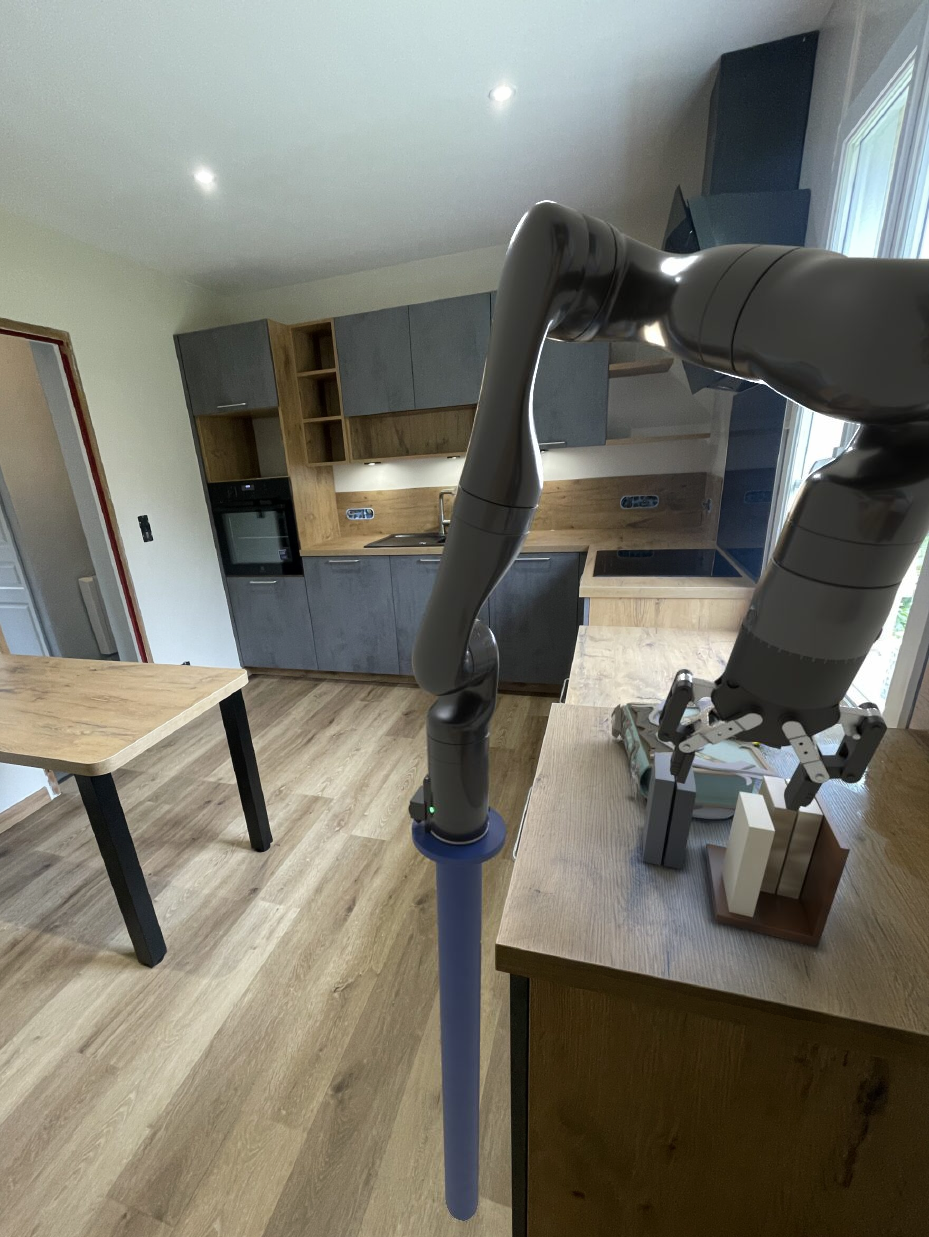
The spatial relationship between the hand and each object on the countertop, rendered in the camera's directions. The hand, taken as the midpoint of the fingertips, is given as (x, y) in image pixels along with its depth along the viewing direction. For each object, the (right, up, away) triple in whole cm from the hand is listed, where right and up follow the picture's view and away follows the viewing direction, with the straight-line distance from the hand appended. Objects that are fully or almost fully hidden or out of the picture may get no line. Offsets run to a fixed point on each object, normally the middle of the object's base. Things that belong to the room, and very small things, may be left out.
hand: (732, 789), depth 46 cm
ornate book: (+18, -7, +45) cm, 49 cm away
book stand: (+14, -17, +20) cm, 29 cm away
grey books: (+6, -14, +27) cm, 31 cm away
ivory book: (+11, -16, +18) cm, 27 cm away
